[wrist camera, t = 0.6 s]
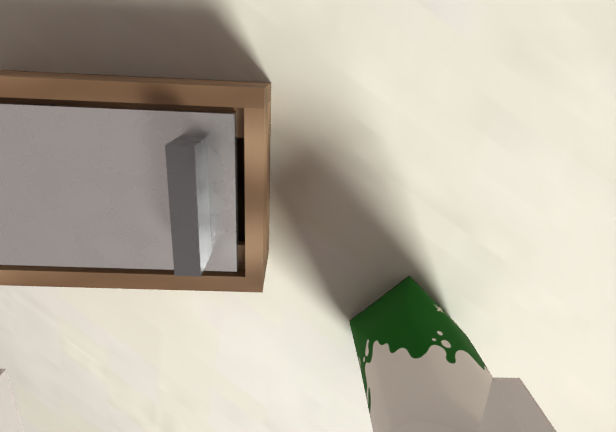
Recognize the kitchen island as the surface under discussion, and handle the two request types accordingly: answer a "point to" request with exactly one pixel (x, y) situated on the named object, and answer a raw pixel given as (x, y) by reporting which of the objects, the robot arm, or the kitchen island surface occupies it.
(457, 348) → the milk carton
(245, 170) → the box
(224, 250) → the cover plate
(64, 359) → the kitchen island surface
